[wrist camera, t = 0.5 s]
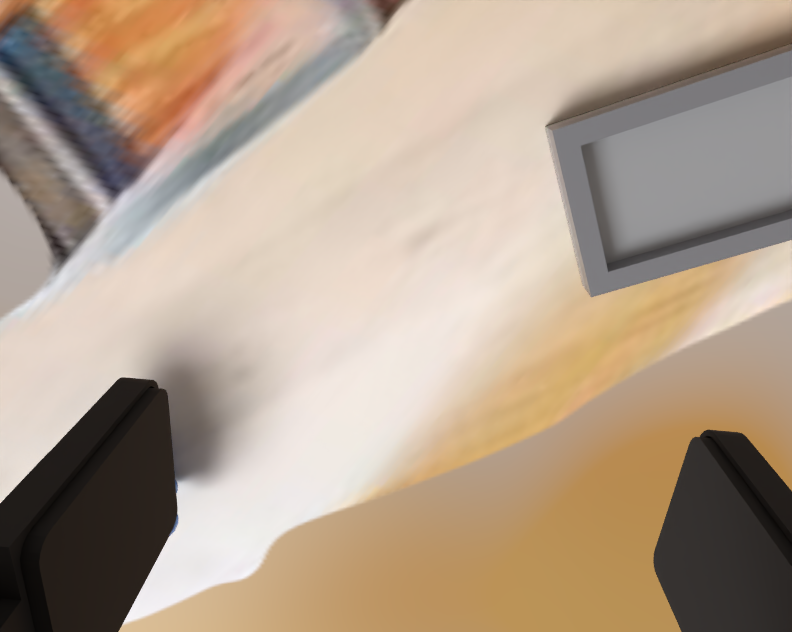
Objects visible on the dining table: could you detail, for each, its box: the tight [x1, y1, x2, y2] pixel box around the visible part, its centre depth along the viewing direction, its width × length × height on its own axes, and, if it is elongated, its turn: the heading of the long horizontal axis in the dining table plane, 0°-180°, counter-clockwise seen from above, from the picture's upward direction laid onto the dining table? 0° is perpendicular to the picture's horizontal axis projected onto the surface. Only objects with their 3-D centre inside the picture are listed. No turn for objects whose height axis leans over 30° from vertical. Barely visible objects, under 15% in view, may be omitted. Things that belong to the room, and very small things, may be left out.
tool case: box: [545, 44, 792, 297], centre depth 40 cm, size 12×27×2 cm, turn 109°
